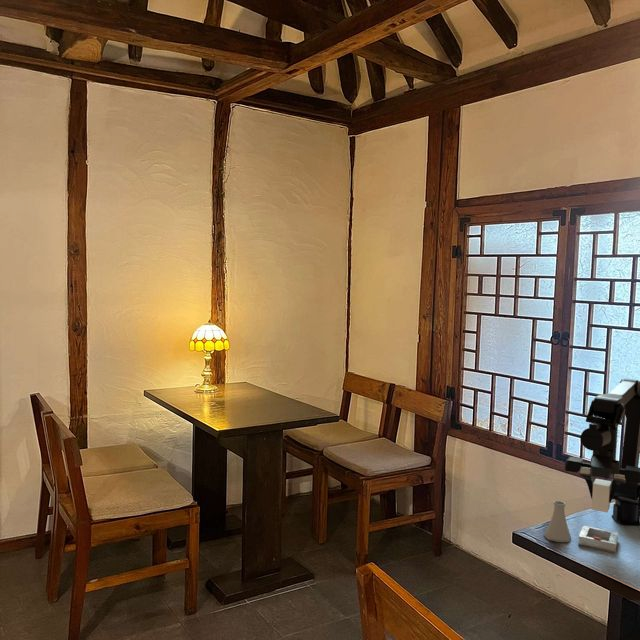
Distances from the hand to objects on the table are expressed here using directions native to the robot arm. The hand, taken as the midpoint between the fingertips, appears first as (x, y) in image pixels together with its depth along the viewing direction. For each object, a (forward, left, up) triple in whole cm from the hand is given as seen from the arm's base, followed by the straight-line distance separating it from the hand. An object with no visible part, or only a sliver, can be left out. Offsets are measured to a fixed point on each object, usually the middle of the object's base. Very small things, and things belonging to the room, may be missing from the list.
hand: (601, 500), depth 174 cm
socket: (0, 0, -12) cm, 12 cm away
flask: (+10, -3, -12) cm, 16 cm away
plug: (0, 0, -2) cm, 2 cm away
